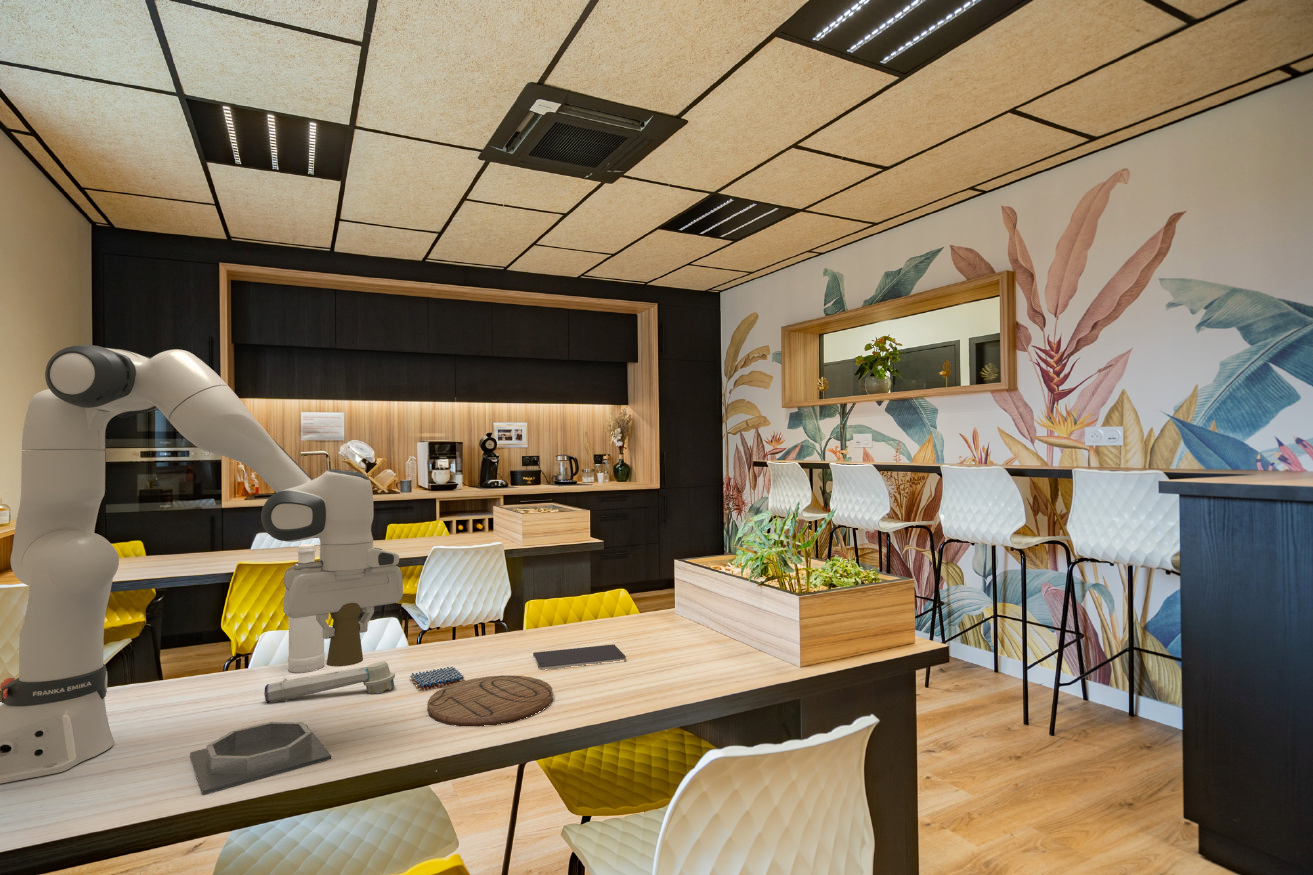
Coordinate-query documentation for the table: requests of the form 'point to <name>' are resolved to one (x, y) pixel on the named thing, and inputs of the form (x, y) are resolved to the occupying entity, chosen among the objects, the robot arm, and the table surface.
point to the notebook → (578, 656)
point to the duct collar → (256, 754)
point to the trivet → (489, 700)
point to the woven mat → (436, 678)
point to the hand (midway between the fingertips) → (345, 634)
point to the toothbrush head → (332, 682)
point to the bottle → (305, 631)
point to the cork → (345, 637)
